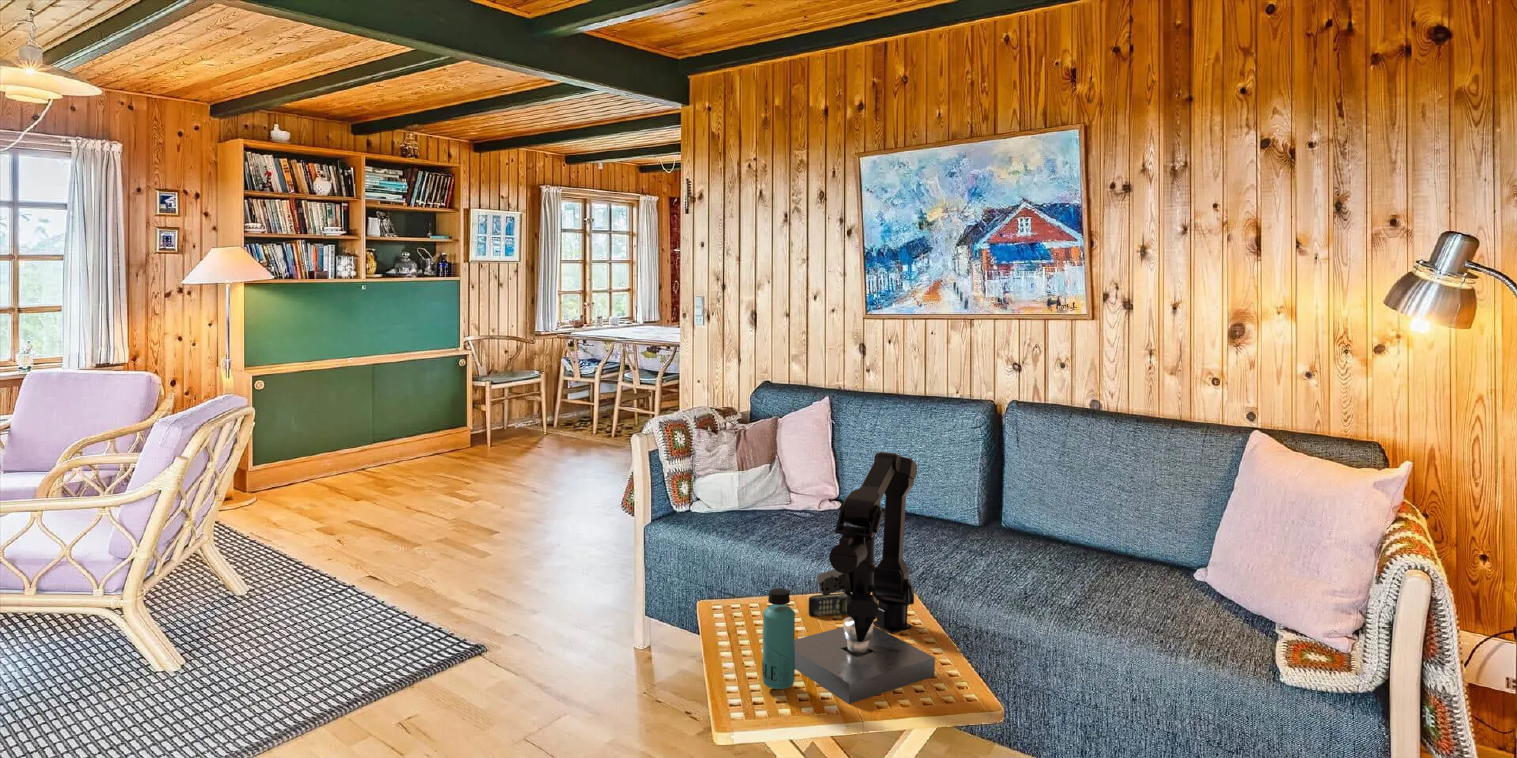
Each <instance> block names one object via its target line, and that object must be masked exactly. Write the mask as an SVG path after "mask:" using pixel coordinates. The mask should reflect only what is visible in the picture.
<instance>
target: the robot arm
mask: <svg viewBox="0 0 1517 758" xmlns="http://www.w3.org/2000/svg"><path fill="white" fill-rule="evenodd" d="M917 474H918V465H917V463H916V462H915V461H914V460H913V458H912V457H904V456H901V455H900V454H897V452H886V451H885V452H884V451H879V452H876V453H875V454H874V461H873V464H872V465H871V467H870V469H869V471H868V473H867V475H866V476H865V478H864V481H863V482H862V484H861V486H860V487H859V488H857V489H855V490H852V491H851V492H850V493H849V494H848V495H847V496H846V498H845V500H843V502H841V506H840V509H839V515H838V517H837V522H836V526H835V530H834V533H835V534H837V535H842V536H841V537H839V541H838V542H839V543H837V544H836V545H835V546H833V548H832V549H831V550H830V552H829V557H828V558H829V562H830V563H829V564H830V565H831V567H832V568H833V569H831V570H827V571H825V572H822V573H819V574H818V575H817V578H816V579H817V582H818V586H819V589H820V591H821V595H823V596H827V595H829V594H834V593H835V592H839V591H842V593H845V594H846V595H847V596H848V597H847V598H846V613H847V616H848V617H851V618H852V619H853V620H854V625H855V631H856V637H857V642H863V640H864V638H865V636H866V634H867V632H868V630H869V628H870V627H871V625H872V623H873V626H875V627H876V626H877V628H879V629H881V630H883V631H885V632H887V633H889V634H893V633H896V632H900V631H904V630H908V629H911V628H912V624H911V623H908V607H909V606H910V605H914V603H915V589H914V585H913V583H912V581H911V579H910V570H909V567H908V566H907V564H906V561H905V560H904V556H903V555H904V543H905V542H904V539H905V538H904V536H905V522H906V505H907V504H906V503H907V501H906V500H907V495H908V494H909V492H910V491H911V489H912V488H913V486H914V484H915V480H916V478H917ZM884 496H885V498H884V511H883V509H882V505H881V500H882V498H883V497H884ZM883 516H884V518H883ZM883 519H884V520H883ZM882 520H883V535H882V537H883V539H882V554H881V555H882V557H881V558H882V559H881V560H880V561H879V563H878V565H875V546H876V545H875V543H876V542H875V539H876V535H877V534H879V530H880V527H881V524H882ZM845 524H846V525H845ZM875 566H876V567H875ZM875 619H876V620H875Z"/></svg>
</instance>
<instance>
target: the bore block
mask: <svg viewBox="0 0 1517 758" xmlns="http://www.w3.org/2000/svg"><path fill="white" fill-rule="evenodd" d="M843 632H844V626H842V627H837V628H833V629H830V630H826V631H822V632H818V633H814V634H811V635H807V636H803V637H800V638H796V639H795V638H794V647H795V652H794V653H795V665H794V670H795V671H798V672H799V673H801V674H802V675H803V676H805V677H806V678H808V679H809V680H811V681H813V682H814V683H816V684H817V685H819V686H821V687H822V688H824V689H825V690H826V691H828V692H830V693H831V694H833V695H834V696H836V697H837V698H839V699H840V700H842V701H843V702H845V703H846V704H848V705H850V704H853V703H857V702H860V701H863V700H866V699H869V698H871V697H875V696H880V695H882V694H885V693H887V692H891V691H894V690H897V689H900V688H903V687H906V686H911V685H912V684H915V683H918V682H921V681H924V680H927V679H928V680H929V679H931V678H934V677H935V673H936V672H935V669H936V657H935V656H933V655H931V654H929V653H927V652H925V651H923V650H921V649H919V648H917V647H916V646H913V645H912V644H909V643H907V642H906V641H904V640H902V639H900V638H898V637H896V636H894V635H892V633H890V632H888V631H886V630H884V629H882V628H880V627H878V626H877V627H876V625H873V638H872V639H871V640H869V654H865V655H862V656H858V657H855V656H853V655H851V654H850V653H848V652H847V639H846V638H845V637H844V635H843Z"/></svg>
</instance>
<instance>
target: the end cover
mask: <svg viewBox="0 0 1517 758" xmlns="http://www.w3.org/2000/svg"><path fill="white" fill-rule="evenodd" d="M873 626H874V624H873V623H872V625H871V627H870V628H869V630H868V632H867V634H866V636H865V638H864V640H863V642H857V637H856V631H855V625H854V620H853V619H852V618H851V617H849V616H848V617H845V618H843V627H844V632H843V635H844V637H845V638H846V639H847V652H848V653H850V654H851V655H853V656H855V657H858V656H862V655H865V654H869V640H871V639H872V638H873Z"/></svg>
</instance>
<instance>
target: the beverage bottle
mask: <svg viewBox="0 0 1517 758" xmlns="http://www.w3.org/2000/svg"><path fill="white" fill-rule="evenodd" d="M767 600H768V603H769V604H770V605H768V606H767V607H766V608H765V609H764V610H763V613H762V617H763V618H762V620H763V621H762V622H763V624H762V636H761V637H762V660H761V662H762V663H761V668H762V669H761V675H762V678H761V679H762V682H763V684H764V685H765V686H766V688H767V687H768V688H770V689H775V690H783V689H788V688H790V687H792V686H793V685H794V684H795V683H794V682H795V681H796V676H795V668H794V665H795V653H794V652H795V647H794V640H795V631H796V630H795V629H796V627H795V625H796V624H795V623H796V622H795V620H796V618H795V617H796V612H795V611H794V610H793V608H791V606H789V605H787V604H789V603H790V602H791V599H790V591H789V590H788V589H786V588H783V587H782V588H781V587H777V588H771V589H770V590H769V592H768V599H767Z"/></svg>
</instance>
